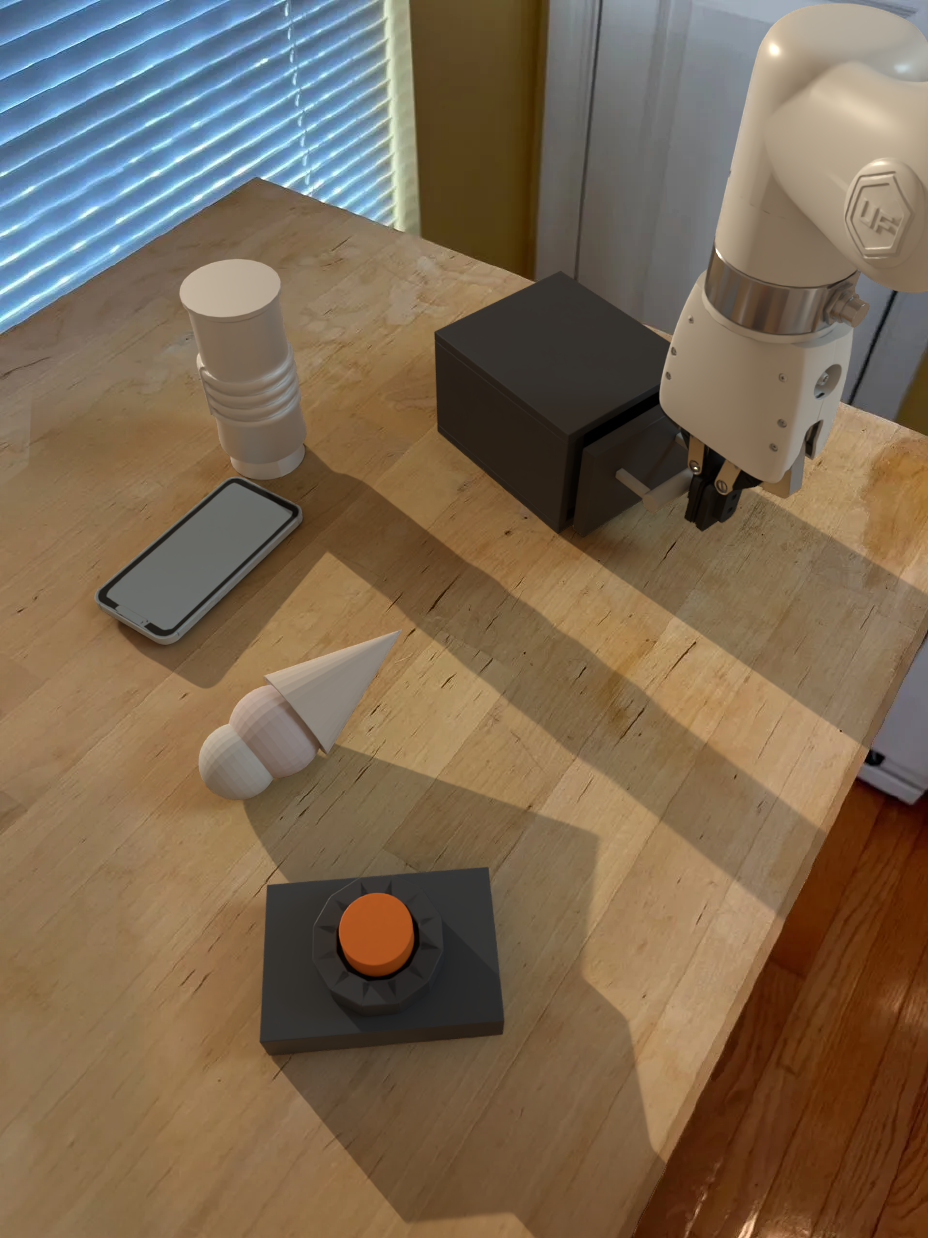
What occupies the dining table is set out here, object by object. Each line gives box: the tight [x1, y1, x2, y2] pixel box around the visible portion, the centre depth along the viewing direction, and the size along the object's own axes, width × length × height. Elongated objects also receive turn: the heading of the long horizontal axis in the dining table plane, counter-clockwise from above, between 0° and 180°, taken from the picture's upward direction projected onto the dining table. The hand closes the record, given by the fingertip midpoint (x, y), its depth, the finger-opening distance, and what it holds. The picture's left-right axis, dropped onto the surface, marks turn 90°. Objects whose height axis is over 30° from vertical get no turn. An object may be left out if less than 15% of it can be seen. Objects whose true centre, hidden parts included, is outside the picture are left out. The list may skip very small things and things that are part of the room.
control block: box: [259, 866, 505, 1057], centre depth 49 cm, size 12×8×4 cm, turn 95°
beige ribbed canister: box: [178, 258, 307, 481], centre depth 69 cm, size 7×7×15 cm
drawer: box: [567, 391, 693, 538], centre depth 70 cm, size 18×11×8 cm, turn 39°
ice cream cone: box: [198, 628, 404, 801], centre depth 57 cm, size 6×6×15 cm
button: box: [339, 893, 414, 977], centre depth 47 cm, size 4×4×2 cm
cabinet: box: [433, 270, 671, 534], centre depth 72 cm, size 15×13×10 cm
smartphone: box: [94, 476, 304, 645], centre depth 68 cm, size 7×1×15 cm
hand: (707, 515), depth 65 cm, fingers closed
